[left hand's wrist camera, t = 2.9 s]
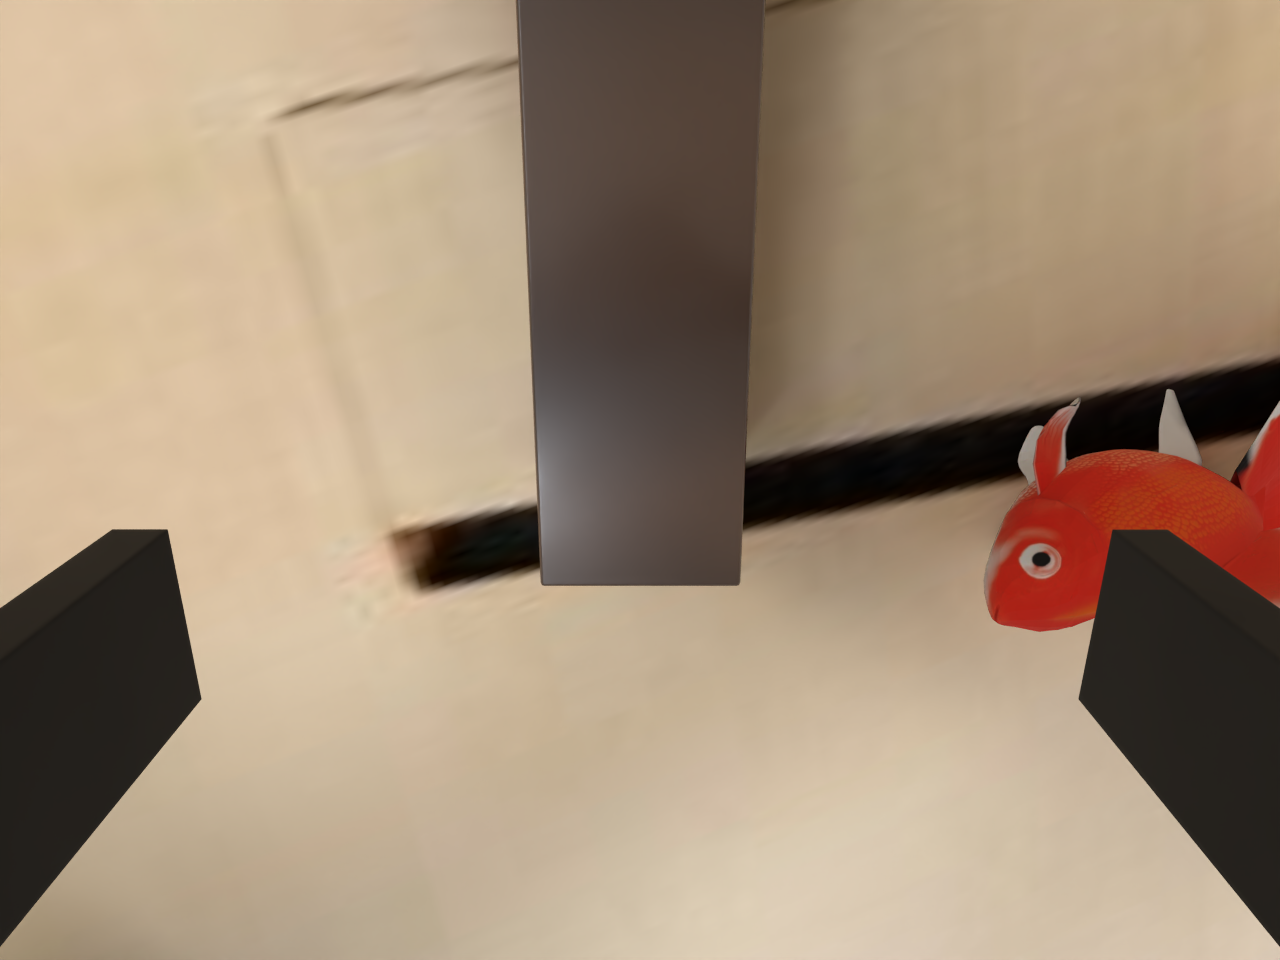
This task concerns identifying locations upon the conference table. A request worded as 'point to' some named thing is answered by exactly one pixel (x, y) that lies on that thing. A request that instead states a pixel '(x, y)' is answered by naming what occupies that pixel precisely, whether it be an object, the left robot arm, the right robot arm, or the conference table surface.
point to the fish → (1128, 517)
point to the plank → (640, 281)
